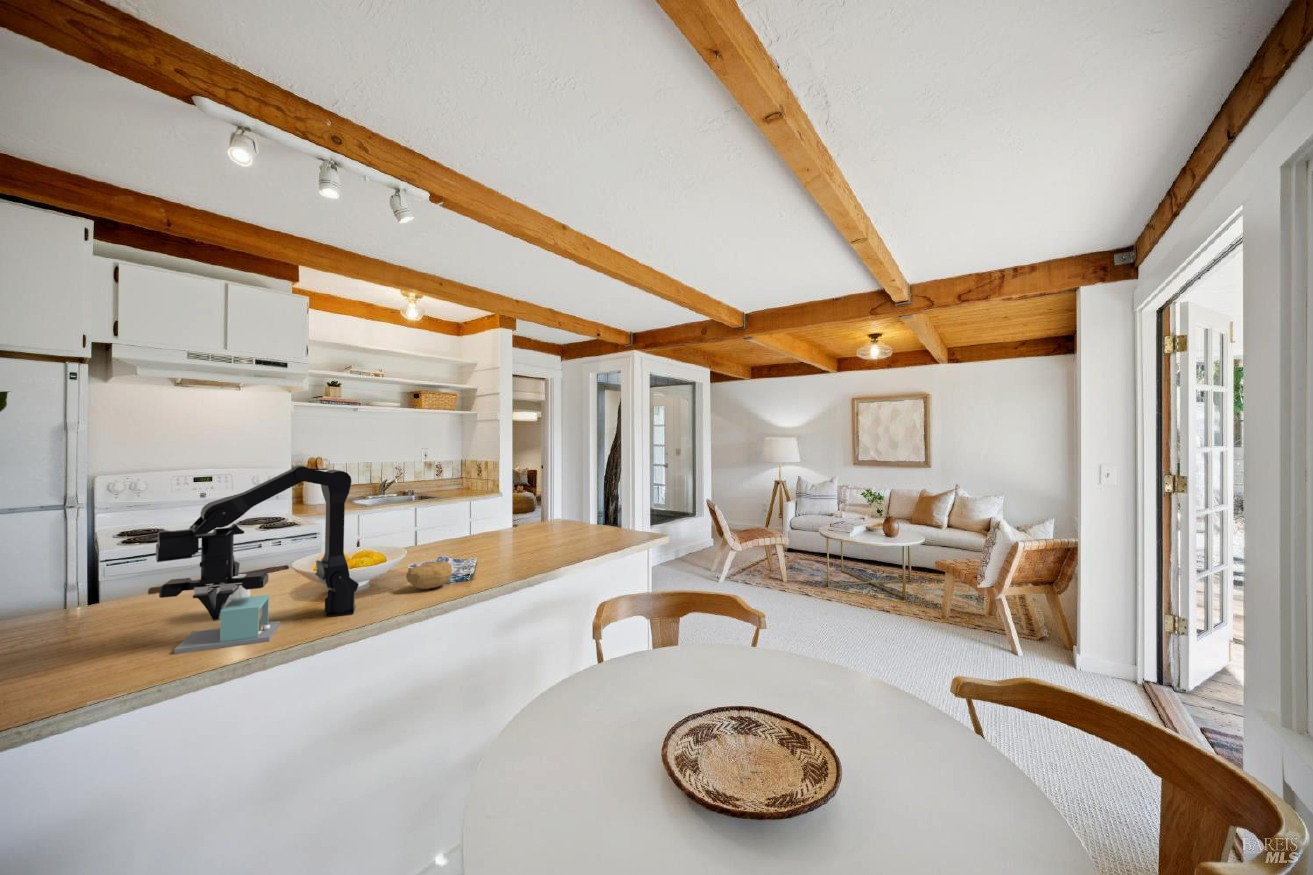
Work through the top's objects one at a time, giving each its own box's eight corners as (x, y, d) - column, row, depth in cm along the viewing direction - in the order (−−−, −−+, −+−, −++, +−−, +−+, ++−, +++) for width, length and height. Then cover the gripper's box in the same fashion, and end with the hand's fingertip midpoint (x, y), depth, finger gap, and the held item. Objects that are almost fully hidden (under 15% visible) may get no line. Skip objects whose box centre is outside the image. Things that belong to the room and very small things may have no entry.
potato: (401, 588, 159) (402, 564, 158) (445, 580, 168) (446, 557, 168) (411, 596, 151) (411, 570, 151) (456, 587, 161) (457, 563, 161)
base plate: (279, 624, 127) (279, 617, 127) (269, 641, 117) (269, 632, 117) (193, 635, 119) (193, 627, 119) (174, 653, 109) (174, 644, 109)
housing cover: (268, 622, 125) (268, 594, 125) (257, 637, 117) (258, 606, 117) (233, 626, 122) (233, 598, 122) (219, 642, 113) (220, 611, 113)
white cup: (233, 620, 129) (234, 582, 129) (203, 619, 129) (204, 581, 129) (258, 610, 137) (259, 574, 137) (230, 609, 137) (231, 573, 137)
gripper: (274, 544, 128) (273, 603, 128) (179, 550, 120) (178, 614, 120) (263, 554, 118) (261, 618, 118) (158, 561, 110) (157, 630, 110)
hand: (216, 619), depth 117 cm, fingers closed
